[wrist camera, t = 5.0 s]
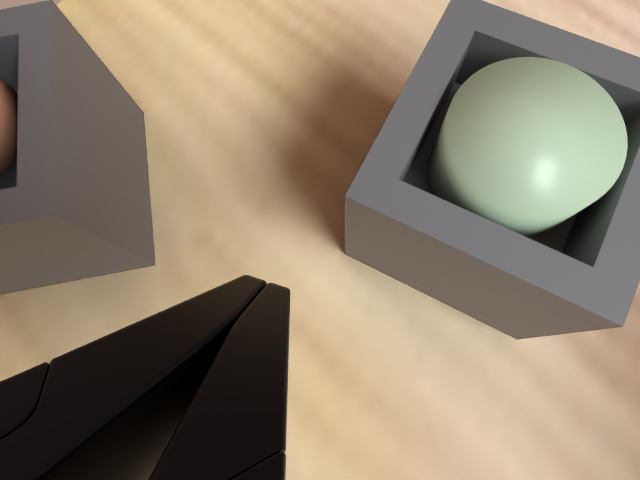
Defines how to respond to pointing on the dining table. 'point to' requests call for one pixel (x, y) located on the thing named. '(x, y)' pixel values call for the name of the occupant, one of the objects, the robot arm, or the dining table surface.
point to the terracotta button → (8, 125)
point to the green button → (528, 144)
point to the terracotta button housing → (69, 159)
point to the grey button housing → (484, 235)
